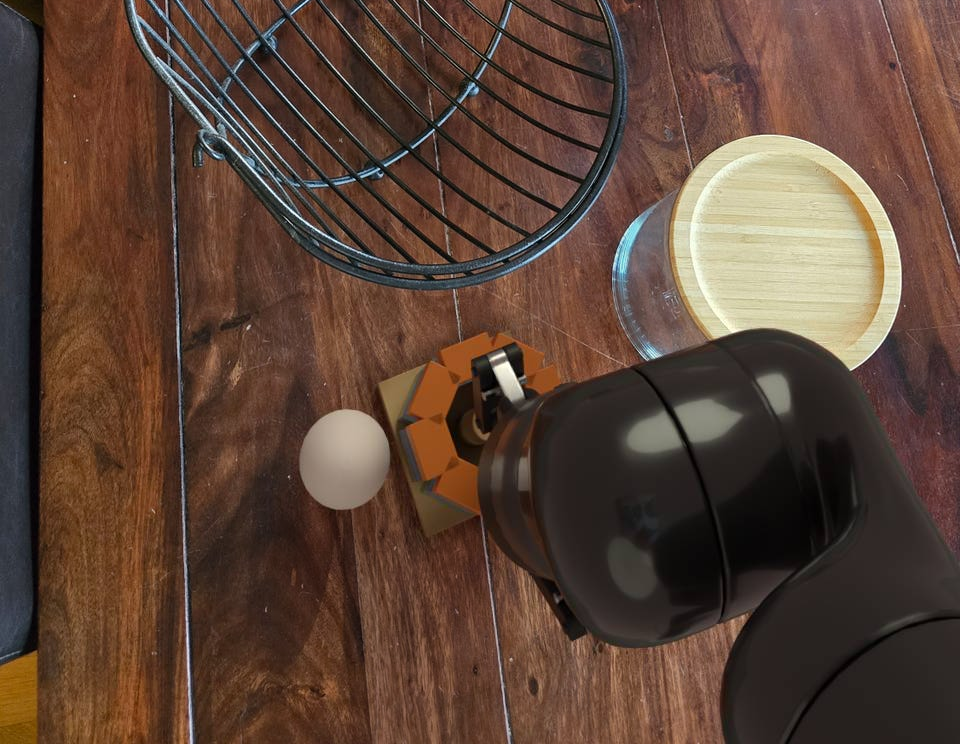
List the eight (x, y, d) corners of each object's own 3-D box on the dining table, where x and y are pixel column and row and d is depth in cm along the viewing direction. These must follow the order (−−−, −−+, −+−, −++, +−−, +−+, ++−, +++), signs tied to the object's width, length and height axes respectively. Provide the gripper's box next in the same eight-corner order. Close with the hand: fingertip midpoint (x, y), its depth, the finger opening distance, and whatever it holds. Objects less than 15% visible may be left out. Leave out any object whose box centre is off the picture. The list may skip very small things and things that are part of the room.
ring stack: (560, 475, 71) (594, 473, 63) (425, 537, 69) (443, 542, 61) (506, 332, 75) (532, 312, 67) (376, 384, 72) (387, 371, 64)
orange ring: (587, 472, 64) (595, 471, 63) (441, 538, 62) (446, 540, 60) (527, 316, 68) (534, 312, 66) (387, 374, 65) (390, 370, 63)
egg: (402, 449, 71) (414, 444, 64) (349, 529, 68) (355, 532, 62) (335, 394, 72) (340, 384, 65) (280, 471, 69) (280, 468, 63)
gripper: (439, 351, 50) (403, 385, 65) (563, 708, 44) (492, 654, 60) (593, 289, 52) (523, 335, 67) (728, 621, 47) (619, 590, 62)
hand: (509, 485), depth 63 cm, fingers closed on orange ring, 2 cm apart
